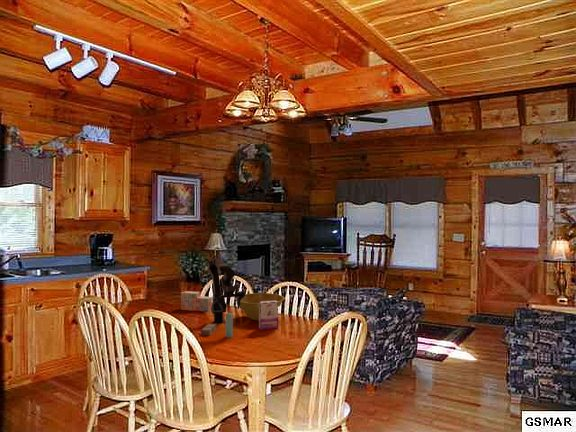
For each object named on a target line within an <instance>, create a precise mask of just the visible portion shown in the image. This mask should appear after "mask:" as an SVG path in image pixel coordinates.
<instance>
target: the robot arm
mask: <svg viewBox="0 0 576 432" xmlns="http://www.w3.org/2000/svg"><path fill="white" fill-rule="evenodd" d="M207 271H208V274H209V275H210V276H211V279H212V281H211V282H212V287H213V295H212V296H211V297H212V307H211V310H210V312H211V313H212V314H213V321H211V324H223V323H224V322H226V319H224V313H226V312H227V307H228V305H227V302H226V299H227V298H237V301H236V306H237V309H238V310H240V308H241V307H240V301H241V300H242V298H244V296H245V294H246V292H245V291H244V290H239V284H238V283H235V284H233V283H232V281H233V279H234V278H235V275H236V272H235V270H234V269H232V267H231V266H230V265H229V264H227V263H224V261H223V260H222V257H213V258H212V259H211V260H210V261H208V264H207ZM220 276H221V278H220ZM220 280H221V283H220ZM221 287H222V288H221ZM237 290H238V291H237ZM222 291H223V294H222ZM236 291H237V293H236Z"/></svg>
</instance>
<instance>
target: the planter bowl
mask: <svg viewBox="0 0 576 432" xmlns="http://www.w3.org/2000/svg"><path fill="white" fill-rule="evenodd" d="M234 298H235V299H234V300H235V301H236V302H237V298H236V297H234ZM275 300H276V301H277V302H278V308H279V307H281V306H282V303H283V301H284V300H285V297H284V296H283V295H282V294H277V293H270V292H269V293H268V292H253V293H245V296H244V298H242V300H241V301H240V307H239V308H241V309H242V310H243V313H244V314H245V316H246V317H247V318H248V319H250V320H253V321H259V302H260V301H275Z"/></svg>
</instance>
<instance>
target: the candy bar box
mask: <svg viewBox="0 0 576 432" xmlns="http://www.w3.org/2000/svg"><path fill="white" fill-rule="evenodd" d="M258 328H259V330H261V331H264V330H265V331H266V330H276V329H279V307H278V302H277V301H276V300H275V301H260V302H259V320H258Z"/></svg>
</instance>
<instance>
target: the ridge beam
mask: <svg viewBox="0 0 576 432" xmlns="http://www.w3.org/2000/svg"><path fill="white" fill-rule="evenodd" d="M217 324H218V323H208V324H206V325H205V326H203V328H202V329H200V335H201V336H205V335H207V336H208V337H210V336H211V335H212V334H213V333H214V332H215V331H216V330H217V326H218V325H217Z"/></svg>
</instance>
